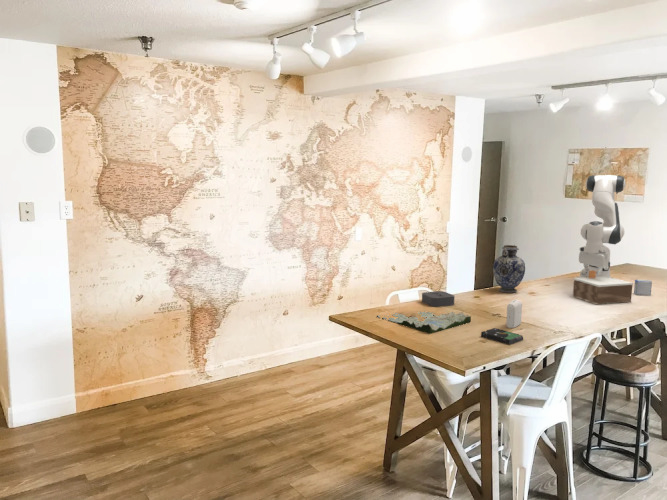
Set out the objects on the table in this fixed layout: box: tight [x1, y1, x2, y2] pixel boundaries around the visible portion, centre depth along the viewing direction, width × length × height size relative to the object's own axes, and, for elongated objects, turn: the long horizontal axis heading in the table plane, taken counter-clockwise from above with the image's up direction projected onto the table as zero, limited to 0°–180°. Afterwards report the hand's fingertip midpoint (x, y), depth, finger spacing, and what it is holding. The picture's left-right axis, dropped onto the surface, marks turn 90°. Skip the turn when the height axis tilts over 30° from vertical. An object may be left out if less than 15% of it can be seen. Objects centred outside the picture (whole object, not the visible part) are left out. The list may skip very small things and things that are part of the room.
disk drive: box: [480, 327, 524, 346], centre depth 232 cm, size 10×3×15 cm
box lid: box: [573, 270, 634, 287], centre depth 300 cm, size 20×22×5 cm
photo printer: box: [506, 299, 523, 329], centre depth 250 cm, size 10×4×12 cm, turn 140°
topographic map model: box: [376, 310, 472, 335], centre depth 261 cm, size 36×29×5 cm
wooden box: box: [572, 280, 633, 306], centre depth 301 cm, size 20×22×10 cm
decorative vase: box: [492, 244, 526, 294], centre depth 321 cm, size 21×19×28 cm
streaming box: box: [421, 290, 455, 308], centre depth 294 cm, size 14×14×5 cm
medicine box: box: [633, 279, 653, 296], centre depth 313 cm, size 8×4×9 cm, turn 84°
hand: (592, 273), depth 308 cm, fingers open, 8 cm apart
